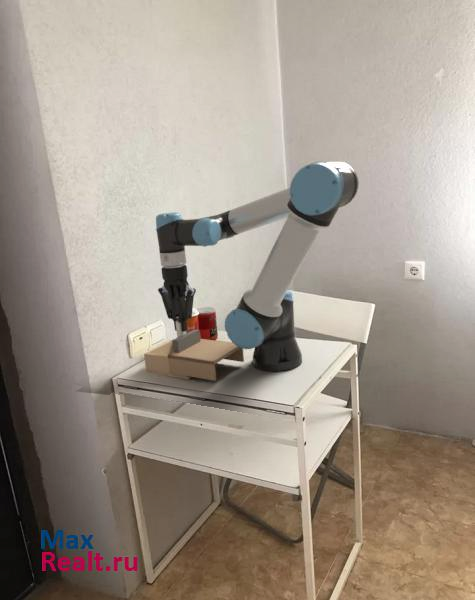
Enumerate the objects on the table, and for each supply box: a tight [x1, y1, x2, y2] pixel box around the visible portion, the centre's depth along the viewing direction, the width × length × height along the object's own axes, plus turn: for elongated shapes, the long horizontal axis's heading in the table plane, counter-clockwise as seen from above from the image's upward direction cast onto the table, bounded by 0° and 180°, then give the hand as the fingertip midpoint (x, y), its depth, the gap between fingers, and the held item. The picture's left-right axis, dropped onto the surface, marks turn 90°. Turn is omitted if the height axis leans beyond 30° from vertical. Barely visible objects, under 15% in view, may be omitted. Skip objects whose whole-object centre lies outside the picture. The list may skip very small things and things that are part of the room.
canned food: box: [196, 306, 219, 341], centre depth 185 cm, size 8×8×11 cm
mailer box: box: [143, 339, 191, 380], centre depth 160 cm, size 16×14×6 cm
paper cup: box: [186, 307, 199, 333], centre depth 174 cm, size 8×8×14 cm
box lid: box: [168, 329, 245, 382], centre depth 154 cm, size 16×16×10 cm
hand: (182, 340), depth 158 cm, fingers closed
